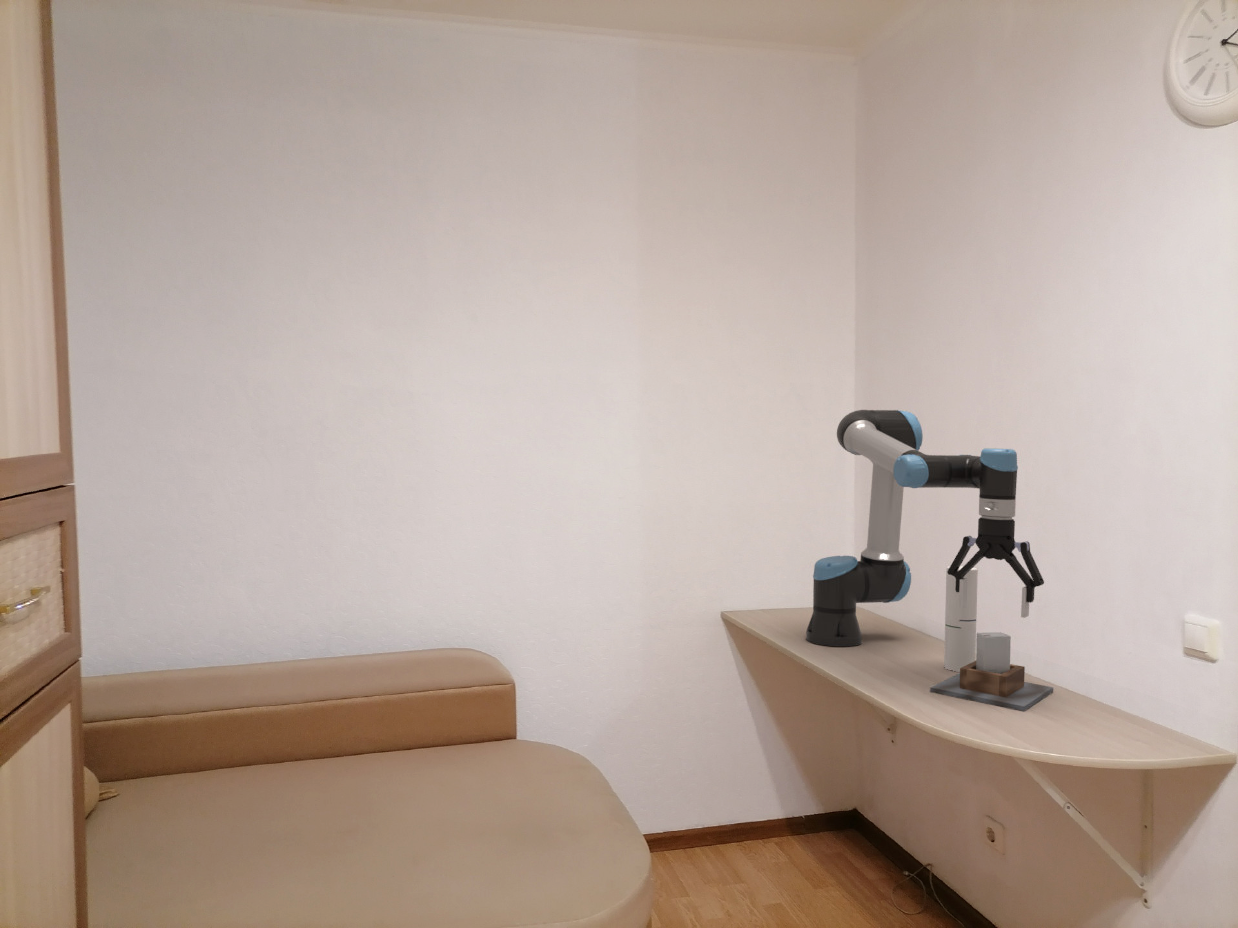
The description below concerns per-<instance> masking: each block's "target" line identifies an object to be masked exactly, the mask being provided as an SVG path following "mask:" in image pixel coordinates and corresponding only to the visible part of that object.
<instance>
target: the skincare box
mask: <svg viewBox="0 0 1238 928" xmlns="http://www.w3.org/2000/svg"><path fill="white" fill-rule="evenodd" d="M975 661H976V670H982V671H987V672H993V673H998V674H1003V673H1005V672H1007V671H1008V670H1010V664H1011V635H1009V634H1005V633H1003V632H1001V631H1000V632H996V631H995V632H976V653H975Z"/></svg>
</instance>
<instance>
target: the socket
mask: <svg viewBox="0 0 1238 928" xmlns="http://www.w3.org/2000/svg"><path fill="white" fill-rule="evenodd" d="M1025 670H1026V668H1025V665H1023V666H1022V665H1018V664H1013V663H1010V670H1008V671H1007V672H1005V673H1003V674H998V673H993V672H987V671H982V670H976V660H975V661H974V662H972V663H970V664H968V665H966V666H964V667H962V668H960V672H957V674H955V675H953V676H951V677H949V678H946V679H945V680H943V681H940V682H938V683H937V684H934V685H932V686H931V687H930V689H929V691H931V692H930V693H934V692H937V693H936V694H939V693H940V695H943V694H946V695H945V696H948V695H949V696H948V697H953V696H955V698H959V699H962V700H968V699H969V701H973V702H976V703H977V702H979V703H982V704H983V703H984V704H987V705H988V704H989V705H992V706H997V707H1003V708H1006V709H1012V710H1016V711H1021V712H1025V711H1027V710H1028V709H1030V708H1031V707H1032V706H1034V705H1036V704H1038V703H1039V702H1040V701H1041V700H1043V699H1045V698H1046V697H1048V696H1049V695H1050V694H1052V693H1053V692H1054V687H1053V686H1048V685H1043V684H1038V683H1037V684H1036V683H1032V682H1028V681H1025V675H1026V674H1025Z"/></svg>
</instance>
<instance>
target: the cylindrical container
mask: <svg viewBox="0 0 1238 928" xmlns="http://www.w3.org/2000/svg"><path fill="white" fill-rule="evenodd" d="M950 566H951V565H950ZM950 566H949V565H948V566H946V571H945V572H946V573H945V574H946V575H945V576H946V577H945V579H946V580H945V611H944V612H945V614H944V615H945V617H944V619H945V620H944V621H945V622H944V623H945V624H944V651H943V655H944V656H943V658H944V659H943V668H944V667H945V668H944V669H945V670H947V669H948V670H947V671H950V670H953V671H952V672H954V671H956V673H960V668H962V667H964V666H966V665H968V664H970V663H972V662H974V661H976V648H977V615H978V613H977V609H978V608H977V607H978V574H979V573H978V571H979V569H978V568H976V567H975V566H974V567H973V568H972V569H971V570H970V571H969V572H968V573H967V574H966V575H965V577H963V578H968V579H967V606H966V607H964V608H959V592H956V590H955V587H956V578H955V577H954V576H952V575H949V574H948V569H949V568H950ZM963 566H964V565H960V567H959V569H958V570H957V571H959V570H960V569H961V568H962V567H963Z"/></svg>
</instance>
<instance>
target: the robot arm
mask: <svg viewBox="0 0 1238 928" xmlns="http://www.w3.org/2000/svg"><path fill="white" fill-rule="evenodd" d="M923 435H924V434H923V430H922V425H921V423H920V420H919V419H918V417H916V415H915V414H914V413H912V412H911V411H907V410H906V411H905V410H898V409H893V410H892V409H889V410H888V409H883V410H881V409H876V410H875V409H874V410H873V409H860V410H858V409H857V410H854V411H851V412H849V413H848V414H846V415H845V416H844V417H843V418H842V419H841V420H840V421H839V423H838V425H837V428H836V438H837V441H838V442H837V443H839V445H840V446H841V448H843V450H845V451H847V452H848V453H850V454H851V455H854V456H862V457H865V458H866V459H868V460H869V461H870V462H871V463H872V473H871V485H870V486H871V489H870V502H869V504H870V505H869V513H868V515H869V517H868V528H867V529H868V530H867V541H866V542H867V543H866V548H865V549H863V550H862V551H861V553H860V560H859V561H858V559H857V557H855V556H853V555H833V556H826V557H822V558H820V559H817V561H816V562H815V563H814V566H813V574H812V578H813V586H812V587H813V590H812V591H813V593H812V594H813V595H812V596H813V597H812V598H813V599H812V600H813V601H812V604H813V605H812V606H813V607H812V608H813V609H812V613H811V617H810V620H809V622H808V626H807V628H806V632H805V634H806V635H805V639H806V641H808V642H809V643H813V644H815V645H821V646H827V647H843V648H844V647H854V646H858V645H862V642H863V634H862V631H861V626H860V624H859V620H858V617H857V604H862V603H863V604H865V603H866V604H867V603H870V604H871V603H884V604H889V603H893V602H899V601H902V600H903V599H904V598H905V597H906V596H907V595H908V592H909V591H910V588H911V584H912V573H911V572H910V571H911V568H910V566H909V563H908V562H906V561H905V560H904V559H905V556H904V555H903V554H902V553H901V552H900V538H901V525H902V524H901V523H902V515H903V514H902V513H903V500H904V488H912V489H918V488H919V489H923V488H933V489H934V488H935V489H936V488H937V489H938V488H944V489H945V488H947V489H948V488H949V489H950V488H951V489H953V488H955V489H959V488H962V489H963V488H964V489H965V488H966V489H967V488H968V489H979V497H978V500H979V501H978V515H979V516H981V517H979V518H978V523H977V524H978V526H977V537H973V536H971V535H967V536H963V539H962V544H961V546H960V548H959V550H958V552H957V554H956V555H955V557H954V559H953V561H952V563H951V564H950V568H949V569H948V574H949V575H952V576H954V577H955V578H956V587H955V590H956V592H959V608H964V607H966V606H967V579H968V578H963V577H965V575H966V574H967V573H968V572H969V571H970V570H971V569H972V568H973V567H974V568H975V566H976V565H977V564H978V563H979V562H980V561H981V560H982V559H983V558H984V557H985V558H986V559H988V560H990V559H991V560H992V559H995V560H996V561H997V560H998V561H1002V560H1004V561H1005V562H1006V563H1007V564H1009V566H1010V567H1011V568H1012V570H1013V571H1014V573H1015V574H1016V575H1017V576H1018V578H1019V579H1020V580H1021V581H1022V583H1023V584H1024V585H1025V586H1022V587H1021V608H1020V609H1021V610H1020V611H1021V612H1020V618H1027V617H1029V615H1030V603H1033V602H1034V600H1035V588H1036V587H1040V586H1043V585H1044V584H1045V580H1044V578H1043V576H1042V574H1041V572H1040V569H1039V567H1038V565H1037V563H1036V562H1035V559H1034V556H1033V555H1032V552H1031V547H1030V545H1031V544H1030V542H1029V541H1022V542H1021V541H1020V542H1019V541H1018V542H1016V539H1015V530H1016V529H1015V526H1016V521H1015V519H1013V518H1015V517H1016V505H1017V504H1016V503H1017V502H1016V499H1017V497H1016V496H1017V482H1018V481H1017V480H1018V468H1019V466H1018V455H1017V454H1018V452H1017V451H1016V450H1015V449H1013V448H996V447H995V448H989V447H987V448H983V449H982V450H981V451H980V452H981V453H980V455H979V456H978V455H972V454H959V455H955V454H954V455H953V454H952V455H947V454H946V455H945V454H943V455H941V454H940V455H939V454H938V455H937V454H934V455H933V454H926V453H924V452H921V451H919V450H921V449H920V448H921V446H922V443H923ZM974 545H976V547H977V548H978V549H979V550H978V551H977V552H976V553H975V554H973V556H972V557H971V558H970V559H969V561H967V562H966V563H965V564H964V565H962V564H963V562H964V560H965V558H966V557H967V555H968V553H969V551H970V550H971V548H972V547H973V546H974ZM1015 549H1017V550H1018V552H1019V553H1020V555H1021V557H1022V559H1023V561H1024V563H1025V566H1026V568H1027V570H1028V572H1029V573H1028V572H1027V571H1026V569H1025V568H1024V566H1023V565H1022V564H1021V563H1020V562H1019V560H1018V558H1017V556H1016V555H1015V554H1014V553H1013V551H1014V550H1015ZM960 566H963V567H962V568H961V569H960V570H959V571H957V570H958V569H959V567H960Z"/></svg>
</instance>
